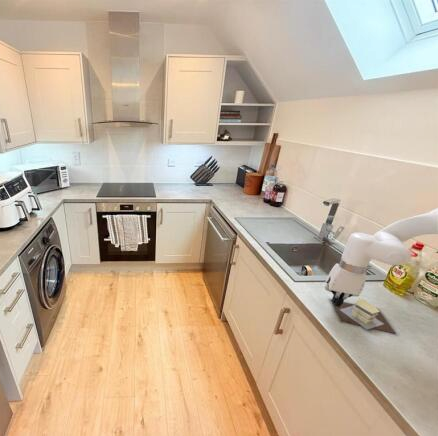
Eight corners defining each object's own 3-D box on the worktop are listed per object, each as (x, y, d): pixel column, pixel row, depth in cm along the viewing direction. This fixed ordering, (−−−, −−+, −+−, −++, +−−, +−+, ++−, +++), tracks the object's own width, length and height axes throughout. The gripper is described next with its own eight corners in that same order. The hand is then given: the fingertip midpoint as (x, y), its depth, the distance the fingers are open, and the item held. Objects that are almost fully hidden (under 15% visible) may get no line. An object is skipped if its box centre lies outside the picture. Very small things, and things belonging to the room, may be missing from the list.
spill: (378, 309, 94) (378, 309, 94) (395, 333, 83) (395, 333, 83) (330, 300, 99) (331, 299, 99) (341, 321, 88) (341, 321, 88)
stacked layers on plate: (384, 324, 87) (390, 312, 85) (366, 329, 85) (372, 318, 82) (355, 305, 96) (360, 294, 94) (339, 309, 93) (343, 298, 91)
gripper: (372, 264, 86) (354, 302, 94) (324, 256, 91) (311, 293, 98) (383, 276, 80) (363, 316, 87) (331, 267, 84) (316, 306, 92)
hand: (335, 304), depth 93 cm, fingers closed
